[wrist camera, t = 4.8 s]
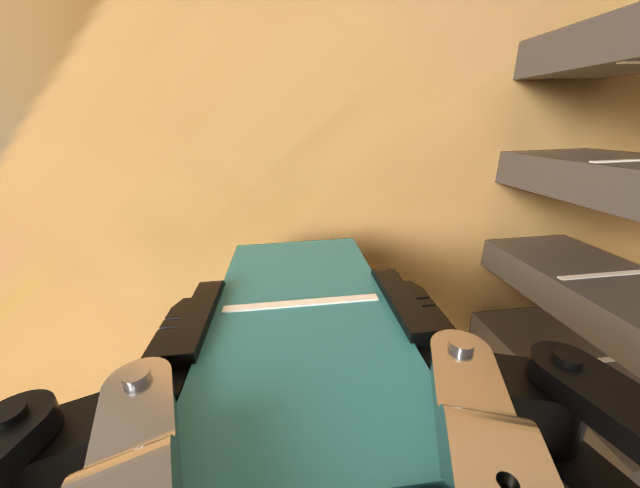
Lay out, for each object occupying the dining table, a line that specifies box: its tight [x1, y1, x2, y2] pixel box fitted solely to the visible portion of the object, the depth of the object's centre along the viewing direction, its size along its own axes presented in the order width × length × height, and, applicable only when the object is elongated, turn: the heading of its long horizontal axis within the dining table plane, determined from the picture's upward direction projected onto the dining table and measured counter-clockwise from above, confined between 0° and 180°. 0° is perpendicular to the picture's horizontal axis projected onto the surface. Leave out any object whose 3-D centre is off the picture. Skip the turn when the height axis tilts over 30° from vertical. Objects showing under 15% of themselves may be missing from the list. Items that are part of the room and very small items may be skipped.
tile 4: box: [469, 306, 640, 486], centre depth 16 cm, size 5×2×10 cm, turn 92°
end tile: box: [177, 238, 446, 488], centre depth 9 cm, size 5×2×10 cm, turn 92°
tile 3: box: [481, 235, 640, 378], centre depth 14 cm, size 5×2×10 cm, turn 92°
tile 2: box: [495, 148, 640, 222], centre depth 13 cm, size 5×2×10 cm, turn 92°
